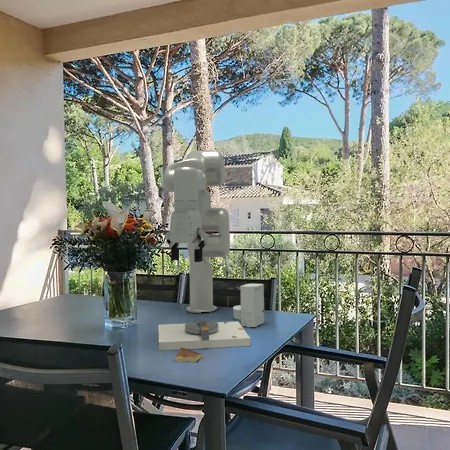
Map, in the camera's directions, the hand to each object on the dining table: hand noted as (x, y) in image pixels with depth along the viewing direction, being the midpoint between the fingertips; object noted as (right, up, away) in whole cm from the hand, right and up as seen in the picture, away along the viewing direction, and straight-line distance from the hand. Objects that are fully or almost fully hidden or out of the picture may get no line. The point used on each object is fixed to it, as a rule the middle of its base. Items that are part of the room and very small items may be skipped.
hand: (186, 261), depth 154 cm
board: (+4, -26, +6) cm, 27 cm away
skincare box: (+22, -25, +24) cm, 41 cm away
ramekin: (+20, -25, +35) cm, 47 cm away
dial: (+5, -23, +3) cm, 24 cm away
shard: (0, -28, -14) cm, 31 cm away
